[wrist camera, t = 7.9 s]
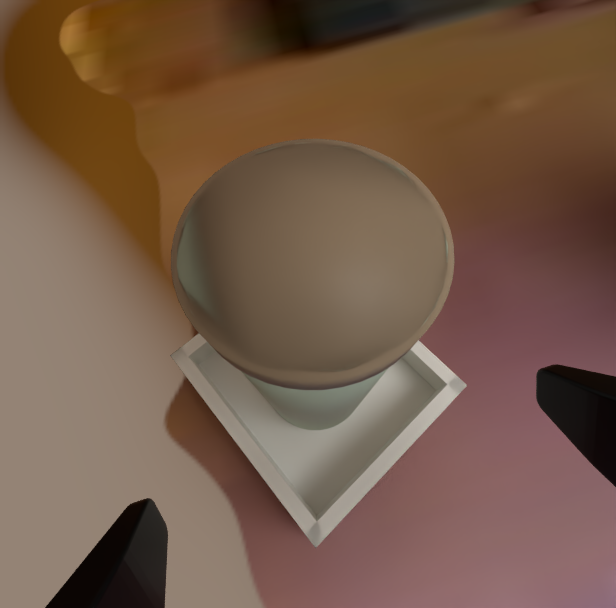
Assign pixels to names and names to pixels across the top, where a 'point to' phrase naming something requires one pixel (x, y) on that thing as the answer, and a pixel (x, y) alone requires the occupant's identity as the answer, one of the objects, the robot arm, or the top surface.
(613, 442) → the robot arm
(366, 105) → the top surface
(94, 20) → the top surface
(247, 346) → the peg
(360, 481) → the tray
